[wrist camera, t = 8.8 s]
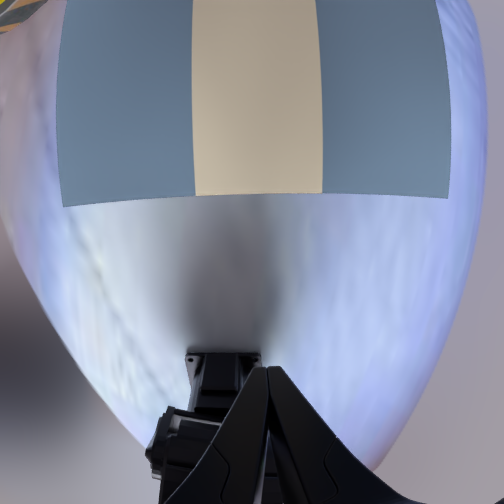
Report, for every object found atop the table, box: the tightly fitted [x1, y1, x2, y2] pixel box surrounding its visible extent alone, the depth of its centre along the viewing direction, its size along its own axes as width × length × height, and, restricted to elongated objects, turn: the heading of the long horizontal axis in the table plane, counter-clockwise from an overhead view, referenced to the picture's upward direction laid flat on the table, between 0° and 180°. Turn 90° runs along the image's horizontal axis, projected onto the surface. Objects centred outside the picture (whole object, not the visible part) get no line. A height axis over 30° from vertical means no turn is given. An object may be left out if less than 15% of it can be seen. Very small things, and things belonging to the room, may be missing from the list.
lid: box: [56, 0, 451, 207], centre depth 10 cm, size 13×18×1 cm
